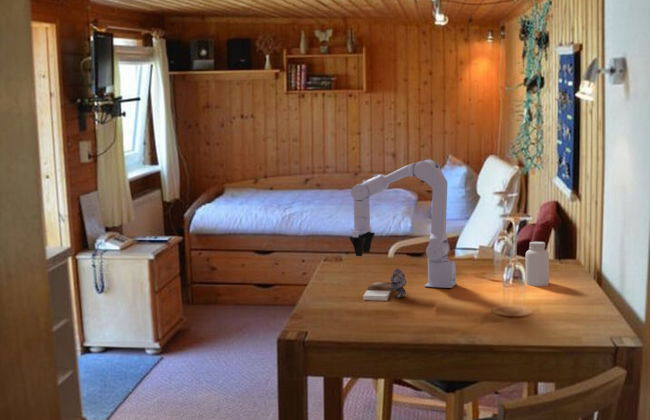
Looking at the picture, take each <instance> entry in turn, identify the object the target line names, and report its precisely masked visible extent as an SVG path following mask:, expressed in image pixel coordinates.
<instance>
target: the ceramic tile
mask: <svg viewBox="0 0 650 420" xmlns="http://www.w3.org/2000/svg"><path fill="white" fill-rule="evenodd" d="M390 296H391V292H390V291H370V290H368V289H367V290H366V291H365V293H364V294H363V296H362V297H363V298H362V299H363V301H385V302H387V301H388V300H389V298H390Z"/></svg>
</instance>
